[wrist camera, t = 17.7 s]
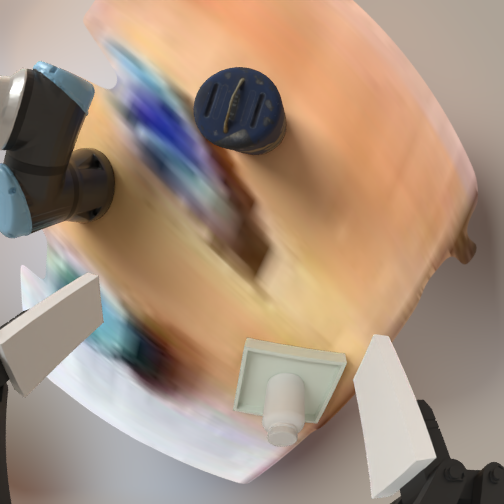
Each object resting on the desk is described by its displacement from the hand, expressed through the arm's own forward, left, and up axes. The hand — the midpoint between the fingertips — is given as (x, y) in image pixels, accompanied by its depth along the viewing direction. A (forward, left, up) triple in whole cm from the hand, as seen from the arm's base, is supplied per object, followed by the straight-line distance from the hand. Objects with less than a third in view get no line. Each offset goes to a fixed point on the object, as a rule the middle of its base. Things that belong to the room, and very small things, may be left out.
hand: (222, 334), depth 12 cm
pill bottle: (+9, -35, -34) cm, 50 cm away
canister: (-5, +13, -35) cm, 38 cm away
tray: (+9, -35, -35) cm, 50 cm away
